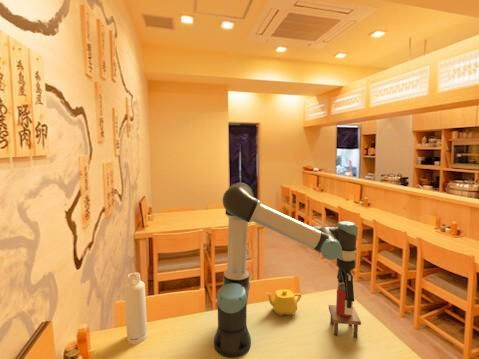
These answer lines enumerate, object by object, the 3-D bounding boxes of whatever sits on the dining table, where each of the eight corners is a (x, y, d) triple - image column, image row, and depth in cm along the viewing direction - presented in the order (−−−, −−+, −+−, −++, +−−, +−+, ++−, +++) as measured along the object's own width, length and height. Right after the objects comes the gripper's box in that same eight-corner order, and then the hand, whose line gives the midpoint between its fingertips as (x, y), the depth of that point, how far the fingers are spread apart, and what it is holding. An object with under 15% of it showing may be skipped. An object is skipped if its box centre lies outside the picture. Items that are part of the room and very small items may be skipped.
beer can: (353, 318, 117) (354, 291, 115) (337, 316, 118) (338, 290, 117) (350, 309, 123) (351, 284, 122) (335, 308, 124) (335, 282, 123)
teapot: (267, 319, 130) (267, 297, 129) (263, 305, 141) (263, 285, 140) (304, 316, 131) (305, 295, 130) (297, 303, 142) (298, 284, 141)
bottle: (142, 328, 124) (139, 268, 121) (150, 337, 118) (147, 274, 115) (124, 337, 118) (120, 274, 115) (132, 346, 112) (128, 281, 109)
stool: (332, 337, 117) (333, 319, 116) (328, 321, 128) (328, 304, 127) (360, 339, 115) (360, 321, 115) (353, 323, 126) (353, 306, 125)
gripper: (364, 271, 105) (361, 323, 108) (347, 247, 130) (346, 290, 132) (343, 270, 106) (341, 321, 109) (331, 247, 131) (330, 289, 133)
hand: (344, 304), depth 120 cm, fingers open, 13 cm apart
